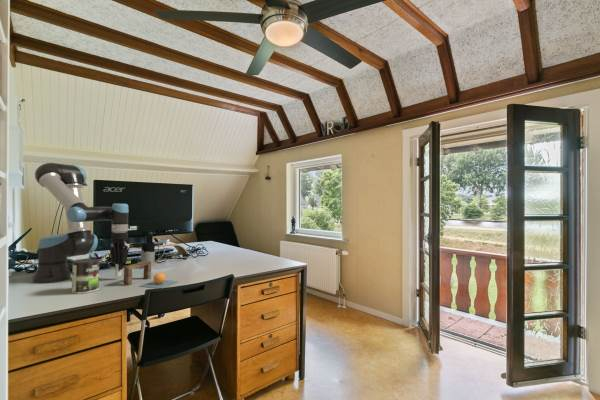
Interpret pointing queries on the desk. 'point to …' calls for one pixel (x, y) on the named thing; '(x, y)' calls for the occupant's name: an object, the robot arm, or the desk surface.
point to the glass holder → (149, 253)
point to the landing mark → (164, 284)
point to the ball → (159, 278)
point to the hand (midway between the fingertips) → (118, 275)
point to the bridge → (129, 268)
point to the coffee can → (85, 276)
